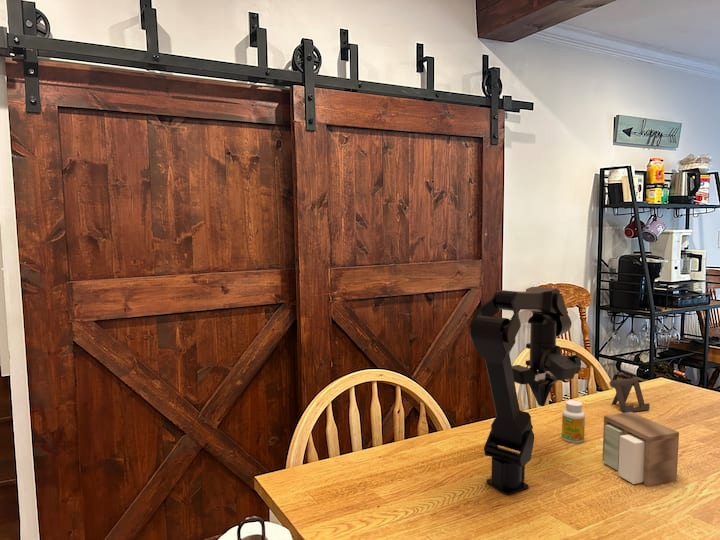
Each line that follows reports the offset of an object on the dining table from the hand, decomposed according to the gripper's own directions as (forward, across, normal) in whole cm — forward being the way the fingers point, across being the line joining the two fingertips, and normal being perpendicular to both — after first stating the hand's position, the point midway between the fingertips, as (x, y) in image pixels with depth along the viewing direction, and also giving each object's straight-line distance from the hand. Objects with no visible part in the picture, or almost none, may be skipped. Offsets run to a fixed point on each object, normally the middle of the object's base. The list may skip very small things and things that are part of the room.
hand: (541, 405), depth 125 cm
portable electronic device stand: (+13, +49, +12) cm, 52 cm away
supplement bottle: (+13, +16, +4) cm, 21 cm away
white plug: (+13, +14, -18) cm, 26 cm away
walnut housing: (+13, +15, -15) cm, 25 cm away
